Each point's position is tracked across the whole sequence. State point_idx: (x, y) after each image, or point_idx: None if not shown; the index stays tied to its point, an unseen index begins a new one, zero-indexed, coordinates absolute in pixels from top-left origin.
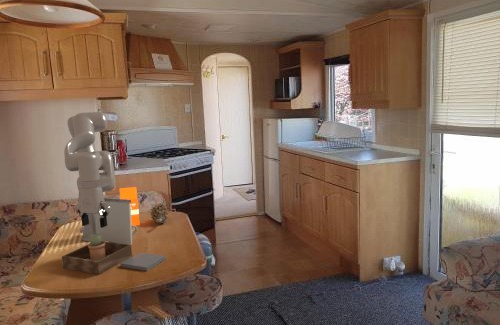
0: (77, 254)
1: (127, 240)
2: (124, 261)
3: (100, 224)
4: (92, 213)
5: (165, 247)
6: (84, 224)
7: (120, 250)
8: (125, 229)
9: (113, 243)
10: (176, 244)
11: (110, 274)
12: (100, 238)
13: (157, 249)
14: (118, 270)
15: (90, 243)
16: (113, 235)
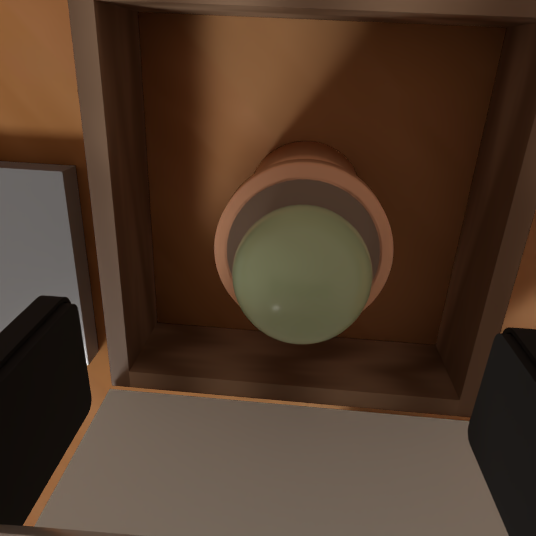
0: (502, 173)
1: (134, 413)
2: (61, 209)
3: (31, 324)
4: (33, 528)
5: (53, 475)
6: (499, 359)
7: (100, 275)
8: (113, 499)
9: (278, 388)
10: (29, 515)
11: (36, 19)
12: (233, 280)
13: (74, 446)
14: (40, 105)
15: (376, 244)
16: (282, 450)
